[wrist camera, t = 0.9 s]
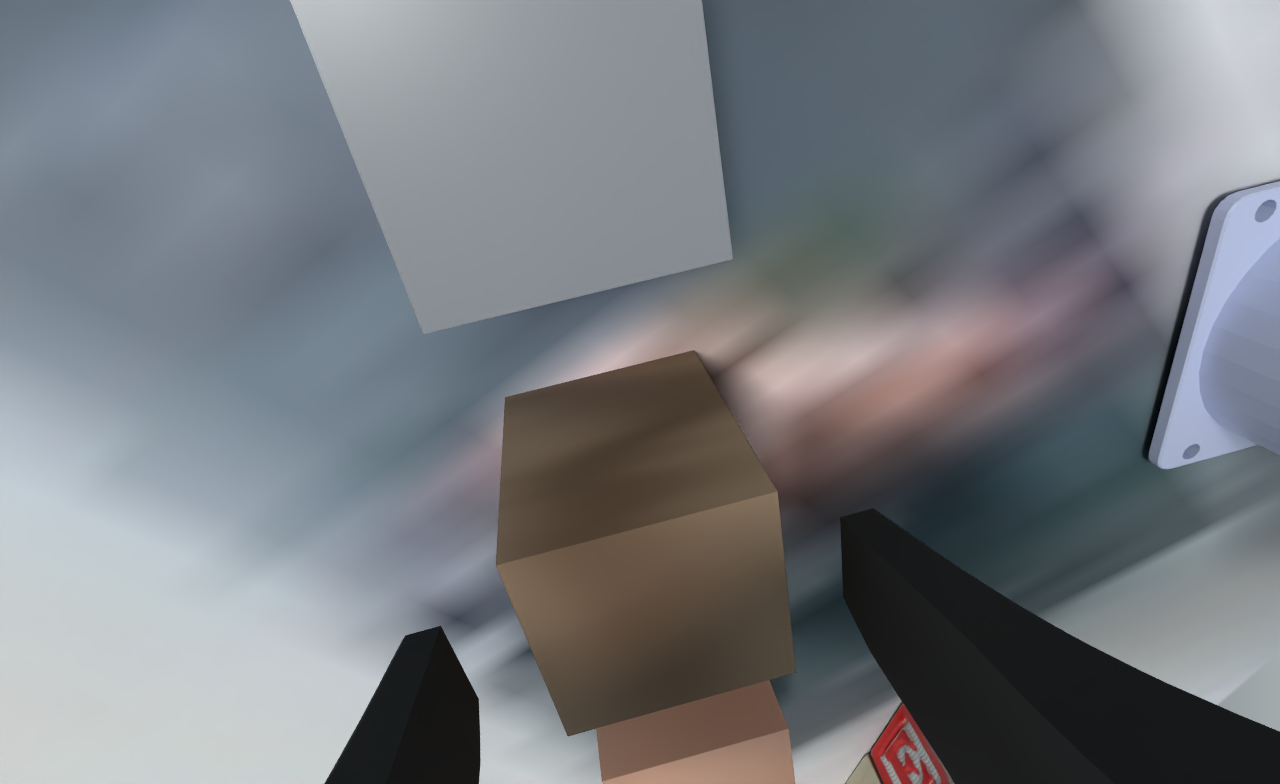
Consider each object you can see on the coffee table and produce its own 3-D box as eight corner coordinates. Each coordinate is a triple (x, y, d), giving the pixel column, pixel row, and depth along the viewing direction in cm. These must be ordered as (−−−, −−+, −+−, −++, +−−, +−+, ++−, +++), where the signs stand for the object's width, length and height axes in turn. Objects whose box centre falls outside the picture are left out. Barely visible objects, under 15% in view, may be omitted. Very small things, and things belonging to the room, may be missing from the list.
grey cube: (625, -65, 11) (685, -140, 7) (669, 199, 13) (732, 259, 9) (364, -10, 10) (269, -53, 6) (454, 249, 13) (423, 334, 9)
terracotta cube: (732, 586, 18) (788, 728, 15) (747, 681, 21) (800, 826, 17) (585, 626, 18) (601, 781, 14) (616, 718, 20) (638, 873, 16)
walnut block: (693, 349, 14) (777, 491, 10) (717, 497, 17) (796, 672, 12) (504, 396, 14) (495, 566, 9) (554, 540, 16) (568, 735, 12)
